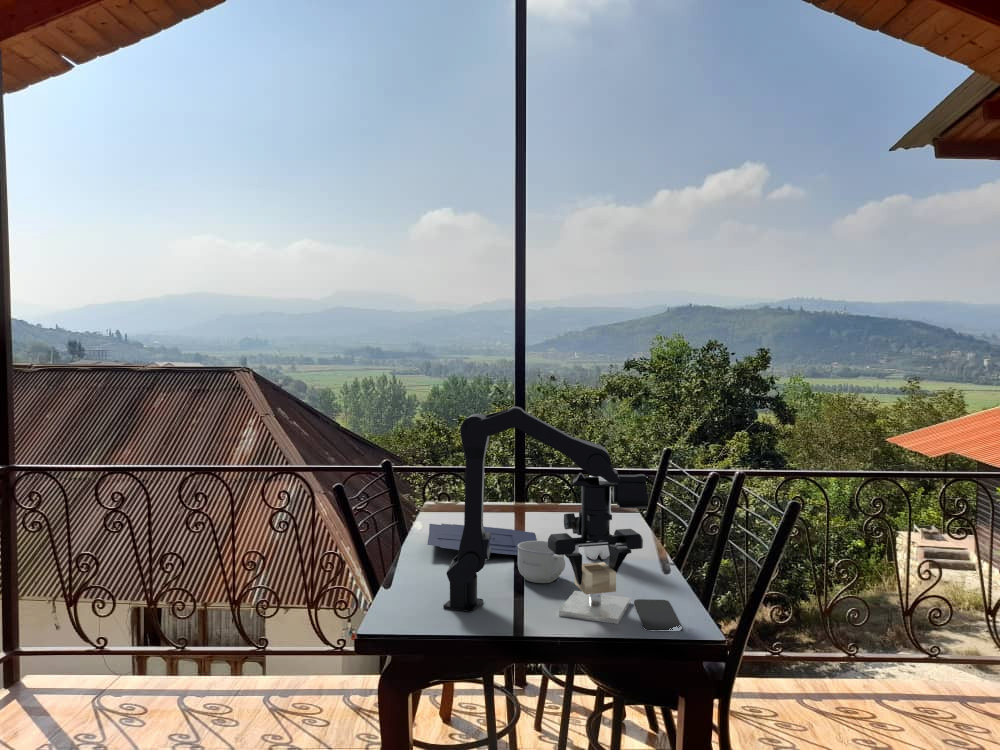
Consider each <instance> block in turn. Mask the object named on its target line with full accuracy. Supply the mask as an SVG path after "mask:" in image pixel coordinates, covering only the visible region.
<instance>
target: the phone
mask: <svg viewBox="0 0 1000 750" xmlns="http://www.w3.org/2000/svg"><path fill="white" fill-rule="evenodd" d="M633 605H634V608H635V610H636V612H637V615H638V617H639V621H640V623H641V622H642V623H641V625H642V624H643V625H642V627H644V628H645V629H647V630H669V629H670V628H671V629H672V628H673V627H676V626H677V627H678V626H679V625H680V626H682V625H681V622H680V620H679V618H678V616H677V614H676V613H675V611H674V608H673V606H672V604H671V602H670V601H669V600H667V599H645V598H644V599H643V598H642V599H641V598H640V599H639V598H638V599H635V600H634V601H633ZM680 626H679V627H680ZM679 627H678V628H679ZM644 628H643V629H644ZM645 629H644V630H645ZM671 629H670V630H671ZM647 630H646V631H647ZM672 630H673V629H672Z"/></svg>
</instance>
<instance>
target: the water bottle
mask: <svg viewBox="0 0 1000 750" xmlns="http://www.w3.org/2000/svg"><path fill="white" fill-rule="evenodd" d="M588 477H594V476H591V475H589V476H588ZM599 481H606V480H605V479H603V478H602V477H601V476H599ZM610 514H611V515H612V487H610ZM587 542H589V541H587ZM582 550H583V553H584V555H585V557H586V558H589V559H590V560H593V561H595V560H597V559H598V556H599V557H600V558H601V560H606V559H608V557H609V549H608V545H601V546H587V547H582Z"/></svg>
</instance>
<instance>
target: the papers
mask: <svg viewBox="0 0 1000 750" xmlns="http://www.w3.org/2000/svg"><path fill="white" fill-rule="evenodd" d="M428 527H429V529H428V537H427V546H434V547H440V549H442V548H443V549H448V550H449V549H451V550H458V551H459V547H460V542H461V538H462V534H463V530H464V524H456V523H455V524H454V523H453V524H449V523H441V524H435V523H429V526H428ZM484 530H485V533H487V532H491V538H490V547H491V553H490V554H492V553H493V554H500V555H501V554H502V555H512V556H513V555H515V556H518V547H517V546H518V544H519V543H522V542H526V541H538V540H537V537H536V533H535V532H533V531H531V532H530V531H525V530H524V531H523V530H517V529H513V528H511V529H510V528H503V527H502V528H501V527H493V526H492V527H491V526H484Z"/></svg>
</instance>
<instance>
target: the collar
mask: <svg viewBox="0 0 1000 750" xmlns="http://www.w3.org/2000/svg"><path fill="white" fill-rule="evenodd" d="M574 584H575V585H576V587H578V589H579V590H580V591H581V592H584V593H585V594H596V593H601V594H605V593H615V592H617V573H616V572H615V571H614V570H613V569H612V568H610V567H609V564H606V562H604V561H602V562H601V561H600V562H591V563H582V581H581V585H579V584H578V583H577V580H576V577H575V576H574Z"/></svg>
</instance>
